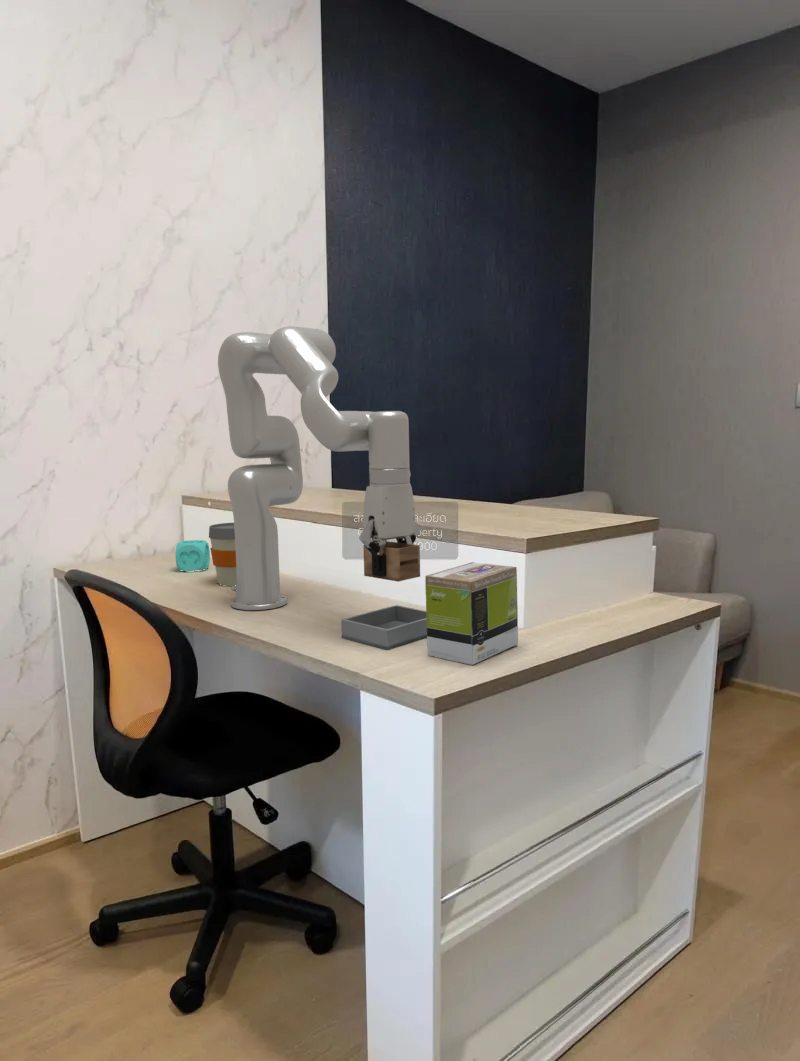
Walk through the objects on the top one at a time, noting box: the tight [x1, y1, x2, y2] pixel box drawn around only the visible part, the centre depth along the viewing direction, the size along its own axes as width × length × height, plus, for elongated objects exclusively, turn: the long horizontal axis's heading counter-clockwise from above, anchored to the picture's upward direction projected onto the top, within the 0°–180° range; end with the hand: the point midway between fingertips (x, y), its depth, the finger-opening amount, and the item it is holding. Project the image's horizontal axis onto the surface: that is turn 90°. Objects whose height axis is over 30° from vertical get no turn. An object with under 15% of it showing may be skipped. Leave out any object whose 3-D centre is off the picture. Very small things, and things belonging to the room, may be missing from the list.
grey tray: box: [340, 604, 427, 651], centre depth 147 cm, size 12×15×4 cm
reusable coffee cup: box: [208, 522, 237, 587], centre depth 199 cm, size 13×13×15 cm
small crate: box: [362, 540, 421, 583], centre depth 146 cm, size 9×6×6 cm, turn 47°
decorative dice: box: [175, 539, 211, 571], centre depth 218 cm, size 8×8×8 cm
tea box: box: [424, 561, 519, 666], centre depth 136 cm, size 15×10×15 cm
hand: (391, 571), depth 146 cm, fingers closed on small crate, 6 cm apart
